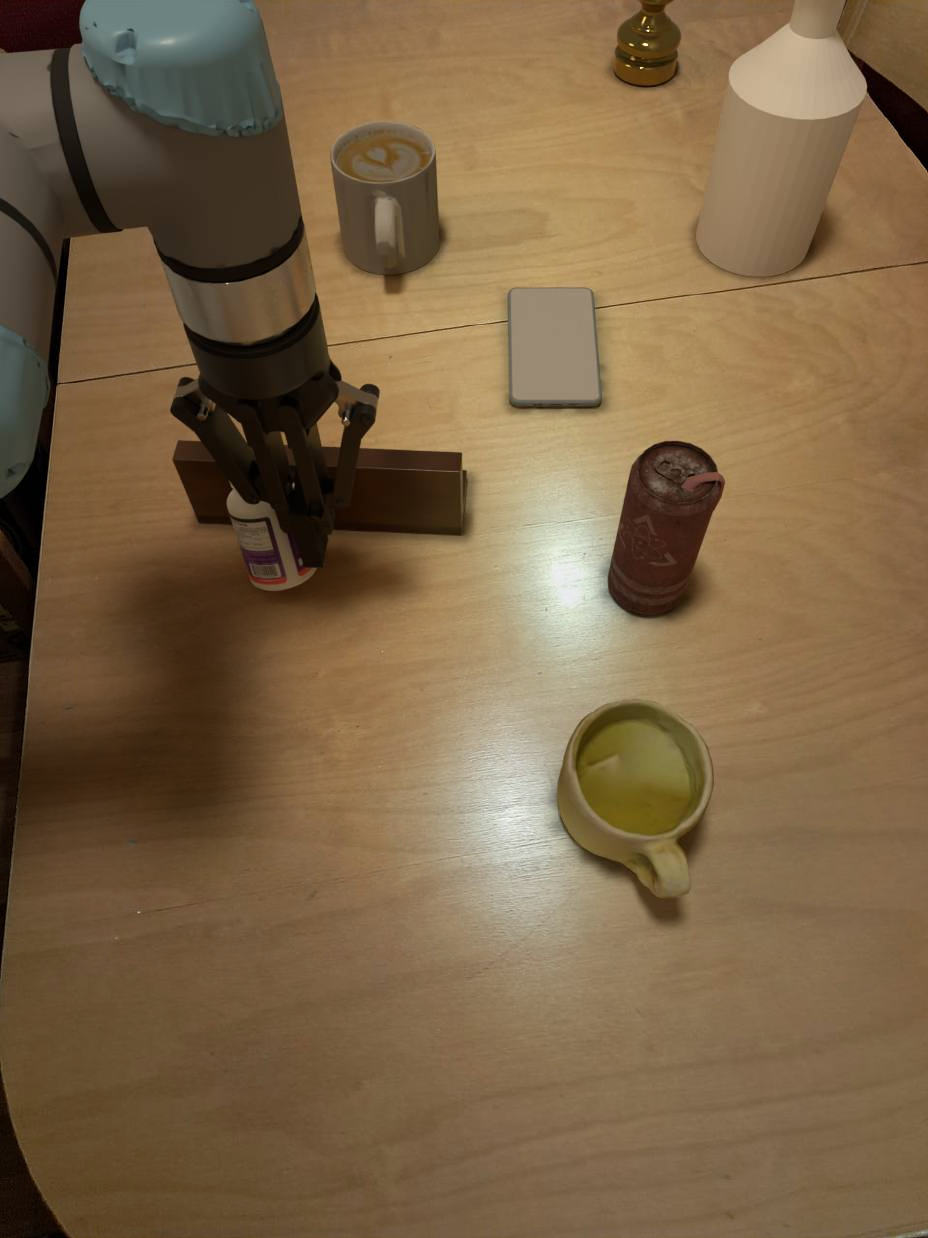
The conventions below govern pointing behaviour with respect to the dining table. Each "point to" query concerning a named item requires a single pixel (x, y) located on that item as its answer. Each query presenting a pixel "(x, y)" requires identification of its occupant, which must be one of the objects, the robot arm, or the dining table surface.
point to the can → (663, 525)
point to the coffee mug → (386, 196)
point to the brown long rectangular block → (381, 494)
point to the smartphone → (553, 347)
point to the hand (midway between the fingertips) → (316, 552)
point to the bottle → (780, 144)
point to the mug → (636, 789)
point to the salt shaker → (647, 45)
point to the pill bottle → (266, 546)
